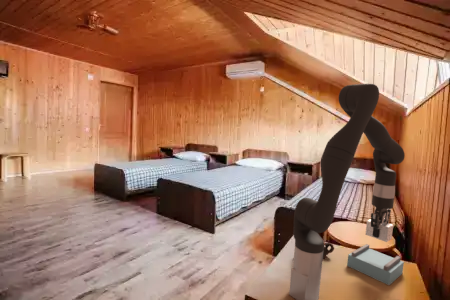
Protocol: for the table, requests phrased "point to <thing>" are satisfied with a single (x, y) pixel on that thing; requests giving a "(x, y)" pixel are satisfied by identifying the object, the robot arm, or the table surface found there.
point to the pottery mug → (327, 249)
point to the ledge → (376, 264)
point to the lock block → (384, 232)
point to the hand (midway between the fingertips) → (378, 235)
